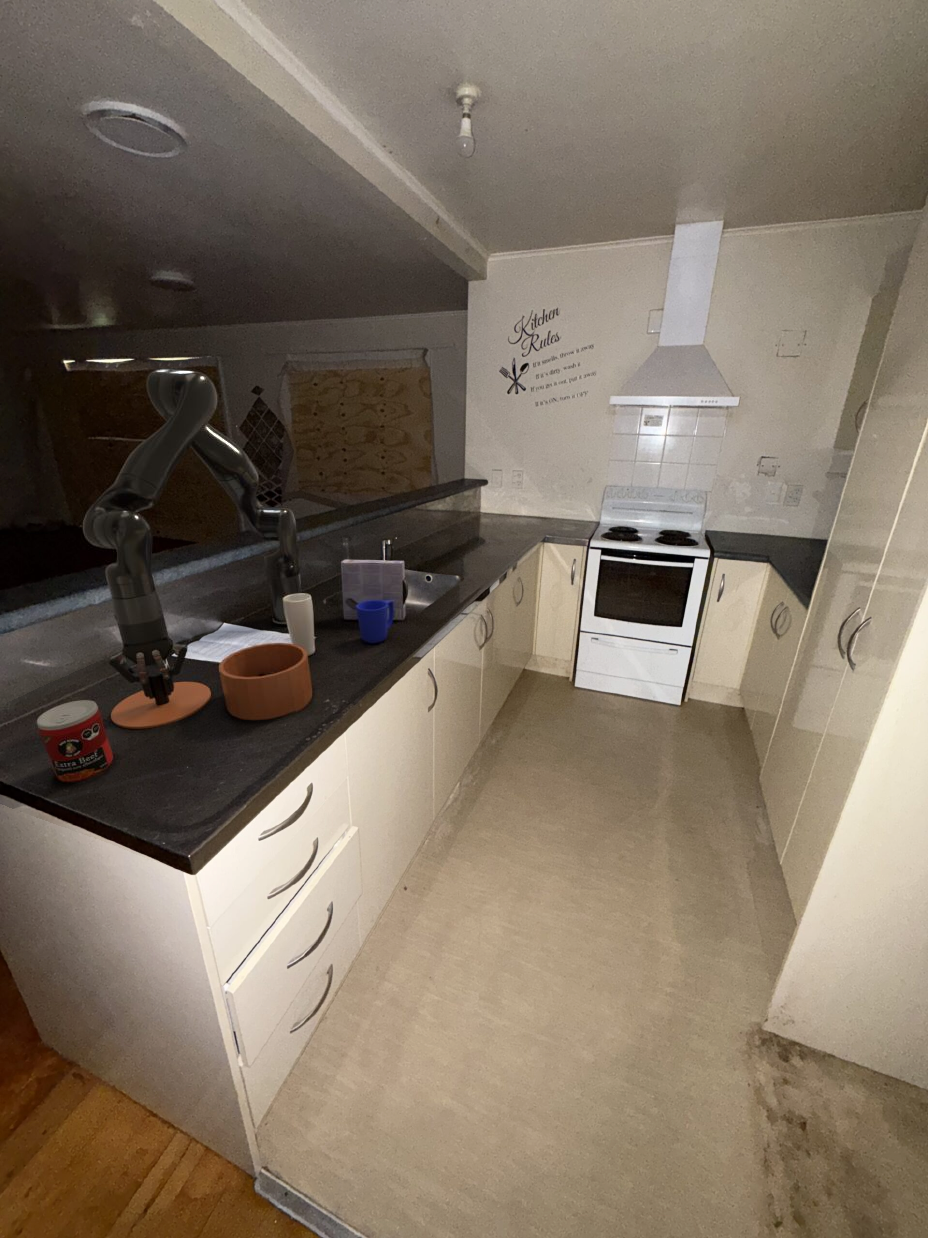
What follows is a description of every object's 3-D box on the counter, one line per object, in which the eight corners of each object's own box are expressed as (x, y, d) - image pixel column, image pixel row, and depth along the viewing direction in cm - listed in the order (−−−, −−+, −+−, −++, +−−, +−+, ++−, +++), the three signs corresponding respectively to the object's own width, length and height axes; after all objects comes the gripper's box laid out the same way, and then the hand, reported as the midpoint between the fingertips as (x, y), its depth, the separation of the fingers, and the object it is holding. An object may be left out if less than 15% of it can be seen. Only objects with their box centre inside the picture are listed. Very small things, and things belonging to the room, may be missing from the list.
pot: (226, 691, 105) (218, 651, 102) (305, 675, 112) (300, 637, 108) (229, 730, 91) (219, 686, 88) (318, 709, 98) (313, 667, 94)
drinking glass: (322, 648, 126) (315, 593, 121) (312, 659, 120) (304, 602, 114) (297, 647, 127) (289, 592, 121) (286, 658, 120) (277, 601, 115)
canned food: (52, 791, 76) (29, 731, 72) (63, 762, 82) (43, 706, 78) (111, 776, 79) (92, 718, 75) (117, 749, 86) (100, 695, 82)
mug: (405, 633, 135) (403, 599, 132) (375, 648, 126) (372, 612, 122) (382, 627, 139) (380, 594, 136) (352, 641, 130) (349, 606, 126)
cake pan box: (409, 615, 149) (407, 558, 142) (407, 621, 144) (404, 563, 138) (347, 614, 149) (342, 558, 143) (343, 620, 144) (337, 563, 138)
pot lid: (119, 697, 103) (110, 665, 100) (211, 679, 110) (205, 649, 107) (104, 741, 88) (92, 705, 85) (211, 717, 95) (204, 683, 93)
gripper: (182, 604, 98) (199, 680, 104) (99, 615, 92) (122, 694, 98) (180, 616, 92) (198, 696, 98) (91, 628, 86) (117, 712, 92)
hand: (160, 695), depth 98 cm, fingers closed on pot lid, 2 cm apart
